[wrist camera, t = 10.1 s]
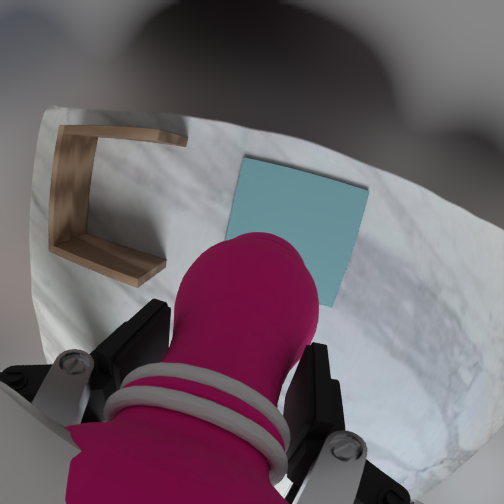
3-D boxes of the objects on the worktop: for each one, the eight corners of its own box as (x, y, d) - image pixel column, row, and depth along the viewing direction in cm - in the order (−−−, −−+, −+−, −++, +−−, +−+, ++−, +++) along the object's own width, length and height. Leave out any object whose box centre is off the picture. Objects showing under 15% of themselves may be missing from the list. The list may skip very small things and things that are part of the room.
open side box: (165, 267, 38) (137, 288, 31) (81, 238, 40) (48, 251, 32) (187, 138, 33) (159, 129, 25) (94, 129, 34) (59, 125, 27)
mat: (331, 305, 36) (332, 307, 35) (218, 275, 37) (217, 276, 37) (368, 191, 31) (369, 191, 31) (244, 157, 33) (243, 157, 32)
